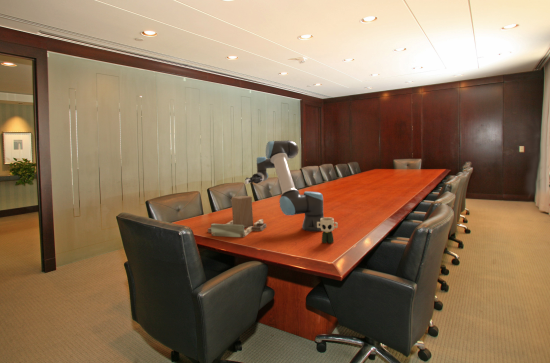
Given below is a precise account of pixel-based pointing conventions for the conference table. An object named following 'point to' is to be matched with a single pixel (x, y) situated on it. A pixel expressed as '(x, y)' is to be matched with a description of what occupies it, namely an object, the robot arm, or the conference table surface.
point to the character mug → (327, 229)
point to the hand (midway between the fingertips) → (245, 182)
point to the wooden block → (242, 211)
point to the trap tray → (235, 229)
